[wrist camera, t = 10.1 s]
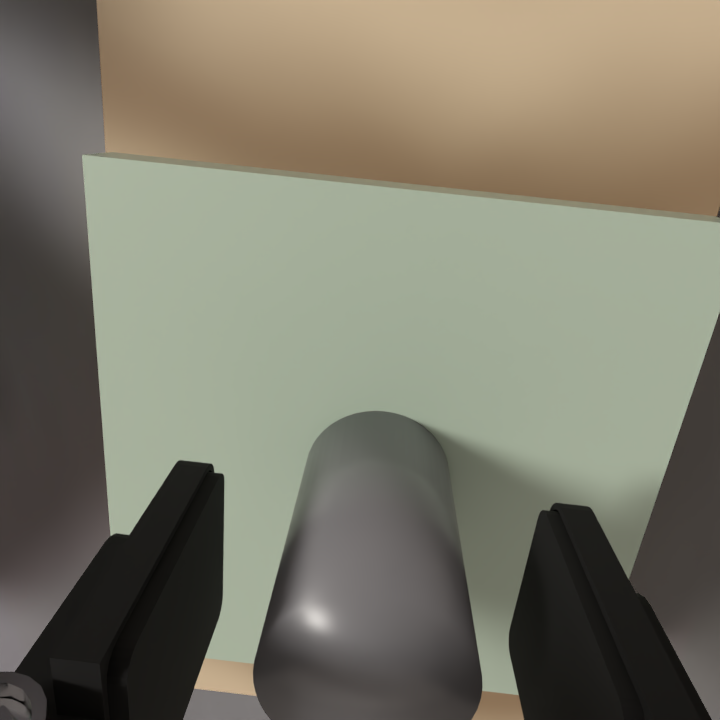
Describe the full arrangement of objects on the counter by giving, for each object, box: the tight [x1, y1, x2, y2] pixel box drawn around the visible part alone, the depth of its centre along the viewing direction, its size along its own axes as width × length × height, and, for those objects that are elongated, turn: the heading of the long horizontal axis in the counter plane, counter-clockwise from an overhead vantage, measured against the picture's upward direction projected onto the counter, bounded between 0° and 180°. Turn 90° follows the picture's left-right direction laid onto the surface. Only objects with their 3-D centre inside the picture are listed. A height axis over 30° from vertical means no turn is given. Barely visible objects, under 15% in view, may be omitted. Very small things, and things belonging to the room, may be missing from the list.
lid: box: [82, 152, 720, 720], centre depth 11 cm, size 12×12×7 cm
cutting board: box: [96, 0, 720, 720], centre depth 15 cm, size 20×13×2 cm, turn 174°
